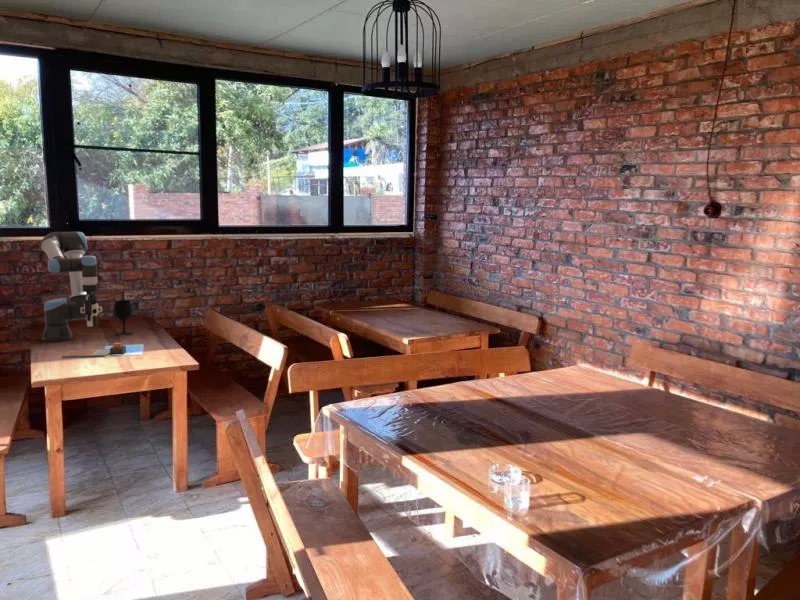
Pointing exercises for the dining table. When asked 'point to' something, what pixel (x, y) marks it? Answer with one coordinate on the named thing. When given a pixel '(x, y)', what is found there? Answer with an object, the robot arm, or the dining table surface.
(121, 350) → the button housing
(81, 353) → the picture board
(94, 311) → the character mug
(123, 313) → the wine glass
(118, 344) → the button cap
